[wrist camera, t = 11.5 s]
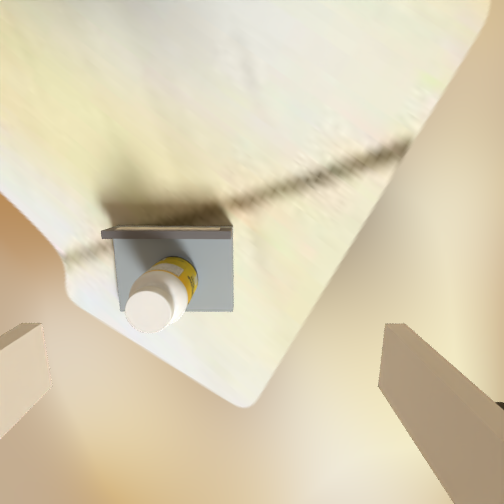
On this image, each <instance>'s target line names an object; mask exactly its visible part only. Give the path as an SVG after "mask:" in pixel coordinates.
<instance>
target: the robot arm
mask: <svg viewBox="0 0 504 504" xmlns="http://www.w3.org/2000/svg"><path fill="white" fill-rule="evenodd" d="M51 387H52V382H51V376H50V369H49V363H48V357H47V351H46V345H45V339H44V332H43V326H42V323H21V324H20V325H18V326H16V327H15V328H13V329H11V330H9V331H8V332H6V333H4V334H3V335H1V336H0V439H1V438H2V437H3V436H4V435H5V434H6V433H7V432H8V431H9V430H10V429H11V428H12V427H13V426H14V425H15V424H16V423H17V422H18V421H19V420H20V419H21V418H22V417H23V416H24V415H25V414H26V413H27V412H28V410H30V409H31V408H32V407H33V406H34V404H36V403H37V402H38V401H39V400H40V399H41V397H43V396H44V394H46V393H47V392H48V391H49V390H50V388H51ZM378 387H379V389H380V390H381V391H382V393H383V395H384V396H385V397H386V399H387V401H388V402H389V404H390V406H391V407H392V409H393V410H394V412H395V413H396V415H397V416H398V418H399V419H400V421H401V423H402V424H403V426H404V427H405V429H406V430H407V432H408V433H409V435H410V436H411V438H412V440H413V441H414V443H415V444H416V446H417V447H418V449H419V450H420V452H421V453H422V455H423V457H424V458H425V460H426V461H427V463H428V464H429V466H430V467H431V469H432V470H433V472H434V473H435V475H436V477H437V478H438V480H439V481H440V483H441V484H442V486H443V487H444V489H445V490H446V492H447V493H448V495H449V497H450V498H451V500H452V501H453V503H454V504H504V403H503V402H494V401H493V400H492V399H490V398H489V397H488V396H487V395H486V394H485V393H484V392H482V391H481V390H480V389H479V388H478V387H477V386H476V385H475V384H473V383H472V382H471V381H470V380H469V379H468V378H466V377H465V376H464V375H463V374H462V373H461V372H460V371H458V370H457V369H456V368H455V367H454V366H453V365H452V364H451V363H449V362H448V361H447V360H446V359H445V358H444V357H443V356H441V355H440V354H439V353H438V352H437V351H436V350H434V349H433V348H432V347H431V346H430V345H429V344H428V343H427V342H425V341H424V340H423V339H422V338H421V337H420V336H418V335H417V334H416V333H415V332H414V331H413V330H412V329H411V328H409V327H408V326H407V325H406V324H385V330H384V338H383V347H382V356H381V365H380V374H379V383H378Z"/></svg>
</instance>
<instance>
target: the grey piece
mask: <svg viewBox="0 0 504 504" xmlns="http://www.w3.org/2000/svg"><path fill="white" fill-rule="evenodd" d="M101 236H102V239H113V242H114V252H115V262H116V272H117V283H118V293H119V303H120V311H125V306H126V303H127V301H128V299H129V293H130V290H131V287H132V285H133V284H134V282H135V281H136V280H137V279H138V278H139V277H140V276H141V275H142V274H144V273H145V272H146V271H147V270H149V269H150V268H151V267H152V266H153V265H155V264H156V263H157V262H158V261H160V260H161V259H163V258H165V257H169V256H179V257H182V258H185V259H187V260H188V261H190V262H191V263H192V264H193V265H194V267H195V268H196V270H197V273H198V286H197V288H196V291H195V292H194V294H193V296H192V298H191V300H190V302H189V304H188V306H187V308H186V310H185V311H203V312H233V307H234V293H233V226H115V227H112V228H109V229H105V230H102V231H101Z"/></svg>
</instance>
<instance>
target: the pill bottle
mask: <svg viewBox="0 0 504 504" xmlns="http://www.w3.org/2000/svg"><path fill="white" fill-rule="evenodd" d="M197 286H198V273H197V270H196V268H195V267H194V265H193V264H192V263H191V262H190V261H188V260H187V259H185V258H182V257H179V256H169V257H165V258H163V259H161V260H160V261H158V262H157V263H156V264H155V265H153V266H152V267H151V268H150V269H149V270H147V271H146V272H145V273H144V274H142V275H141V276H140V277H139V278H138V279H137V280H136V281H135V282H134V284H133V285H132V287H131V290H130V293H129V299H128V301H127V303H126V306H125V315H126V318H127V320H128V322H129V323H130V324H131V326H132V327H134V328H135V329H136V330H138V331H140V332H143V333H156V332H159V331H161V330H163V329H164V328H165V327H166V326H167V325H170V324H173V323H174V322H176V321H177V320H179V319H180V318H181V316H182V315H183V314H184V312H185V310H186V308H187V306H188V304H189V302H190V300H191V298H192V296H193V294H194V292H195V291H196V288H197Z"/></svg>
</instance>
